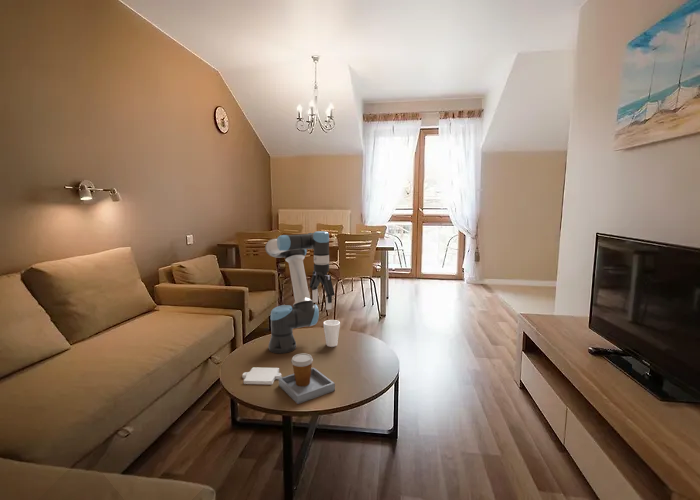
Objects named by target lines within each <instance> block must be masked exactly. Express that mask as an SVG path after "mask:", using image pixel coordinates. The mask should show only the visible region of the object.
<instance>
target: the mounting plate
mask: <svg viewBox="0 0 700 500" xmlns="http://www.w3.org/2000/svg"><path fill="white" fill-rule="evenodd" d="M279 378H282V373H281V372H280V368H279V367H257V366H256V367H252V368H251V369H250V370H249V371H244V372H243V373H242V379H243V384H244V385H246V384H247V385H273V384H274V382H275V380H279Z"/></svg>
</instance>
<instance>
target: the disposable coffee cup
mask: <svg viewBox="0 0 700 500" xmlns="http://www.w3.org/2000/svg"><path fill="white" fill-rule="evenodd" d="M313 361H314V359H313V356H312V355H311V354H310V353H309V354H308V353H297V354H295V355H293V356H292V358H291V364H292V367H293V368H292V370H293V374H294V376H295V382H296V385H297V386H307V385H309V384H310V376H311V368H313V367H312V364H313Z"/></svg>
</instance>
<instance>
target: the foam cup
mask: <svg viewBox="0 0 700 500" xmlns="http://www.w3.org/2000/svg"><path fill="white" fill-rule="evenodd" d="M340 328H341V322H340V320H338V319H337V320H336V319H328V320H324V321H323V331H324V339H325V344H326V346H327V347H329V348H330V347H331V348H333V347H334V348H335V347H337V346H338V342H339V334H340Z"/></svg>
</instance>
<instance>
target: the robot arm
mask: <svg viewBox="0 0 700 500" xmlns="http://www.w3.org/2000/svg"><path fill="white" fill-rule="evenodd" d="M264 248H265V249H264V250H265V252H266V254H267V255H269V256H270V257H273V258H276V259H277V258H282V259H283V258H284V259H285V262H287V263H288V267H289V268H288V269H289V274H290V279H291V285H292V290H293V296H294V297H293V298H294V303H293V304H292V305H290V304H282V305H278V306H275V307H274V308H272V310H270V317H269V319H270V331H271V335H270V339H269V342H268V351H269V352H270V353H274V354H287V353H291V352H293V351H295V350H296V349H297V342H296V340H295V337H294V333H293V330H294V329H299V328H304V327H306V328H307V327H312V326H315V325H316V324H317V323H318V322H319V317H320V316H319V314H320V313H319V312H320V311H319V307H318V305H317V304H316V303H318V302H319V285H320V283H321V285H322V286H323V289H324V292H325V294H326V295H325V310H328V311H329V310H332V308H333V306H332V305H333V303H332V302H333V296H336V295H335V294H336V293H335V291H334V286H333V282H332V275H329V274H328V272H329V271H330V264H329V263H330V235H329V232H328V231H322V230H321V231H320V230H318V231H314V232H310V233H303V234H282V235H279V236H278V237H277V238H271V239H269V240H268V241H267V242H266V243H265V246H264ZM308 250H313V263H314V264H313V271H312V276H311V279H310V283H309V286H308V281H307V275H306V271H305V265H304V259H305V258H306V257H305V256H307V252H308ZM308 287H309V288H311V290H312V293H311V294H312V295H311V296H310V292H309V288H308ZM311 297H312V299H311ZM314 303H315V304H314Z"/></svg>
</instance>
